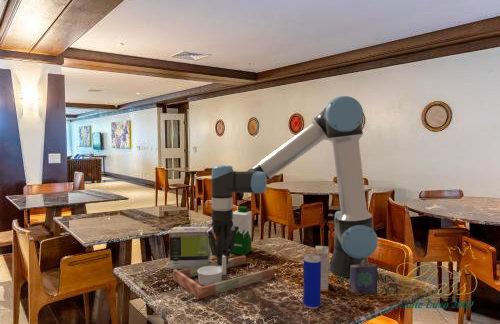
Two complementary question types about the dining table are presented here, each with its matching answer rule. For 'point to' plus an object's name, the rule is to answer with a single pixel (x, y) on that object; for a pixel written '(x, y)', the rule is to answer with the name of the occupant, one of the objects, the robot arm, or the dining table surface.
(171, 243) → the tea box
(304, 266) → the beverage can
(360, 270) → the flask
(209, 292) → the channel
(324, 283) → the supplement box
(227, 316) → the dining table surface
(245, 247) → the milk carton
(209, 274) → the ramekin
